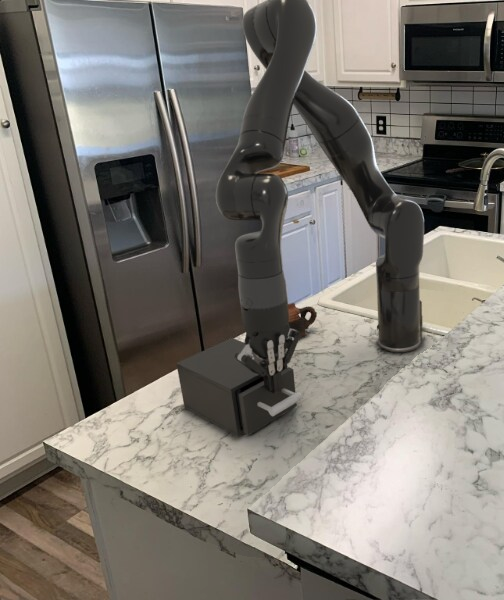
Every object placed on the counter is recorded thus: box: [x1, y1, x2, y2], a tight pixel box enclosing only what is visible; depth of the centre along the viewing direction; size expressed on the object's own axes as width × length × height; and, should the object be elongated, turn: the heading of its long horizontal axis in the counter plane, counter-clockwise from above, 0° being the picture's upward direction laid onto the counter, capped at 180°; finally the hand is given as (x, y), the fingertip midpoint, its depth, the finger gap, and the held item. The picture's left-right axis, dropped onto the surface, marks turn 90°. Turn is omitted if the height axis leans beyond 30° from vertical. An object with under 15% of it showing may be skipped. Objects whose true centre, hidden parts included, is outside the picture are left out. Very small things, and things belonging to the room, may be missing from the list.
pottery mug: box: [288, 302, 318, 339], centre depth 143 cm, size 12×10×8 cm
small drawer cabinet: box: [176, 337, 289, 438], centre depth 113 cm, size 16×13×10 cm
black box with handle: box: [235, 366, 303, 436], centre depth 110 cm, size 19×11×8 cm, turn 53°
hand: (273, 390), depth 105 cm, fingers closed
